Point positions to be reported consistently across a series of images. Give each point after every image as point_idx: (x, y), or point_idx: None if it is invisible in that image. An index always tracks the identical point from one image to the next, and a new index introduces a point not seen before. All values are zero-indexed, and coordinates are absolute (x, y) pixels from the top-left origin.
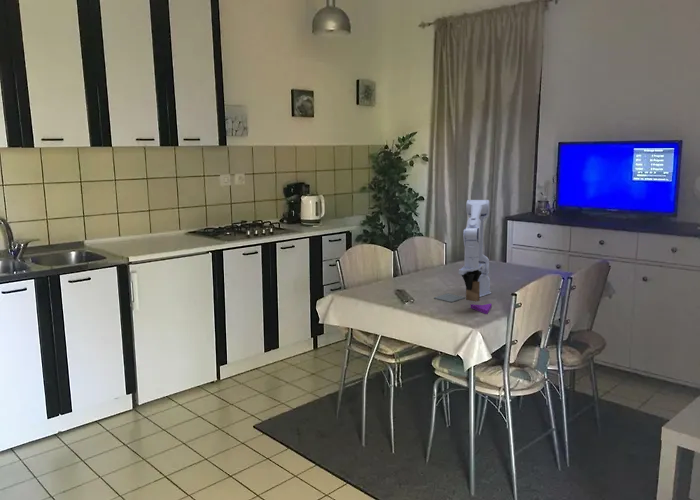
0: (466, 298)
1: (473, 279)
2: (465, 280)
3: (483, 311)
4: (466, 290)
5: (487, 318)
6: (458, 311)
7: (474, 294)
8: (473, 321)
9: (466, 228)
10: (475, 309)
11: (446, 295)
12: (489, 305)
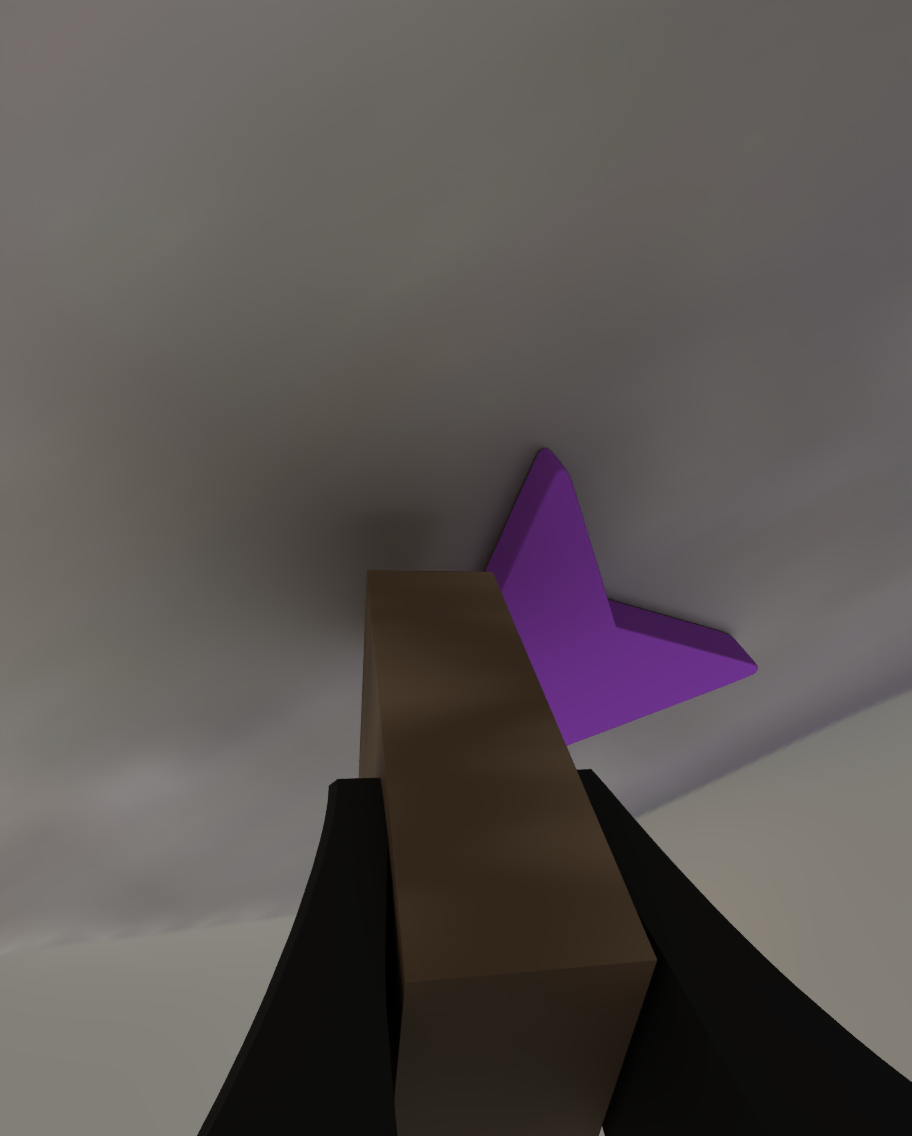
0: (368, 594)
1: (648, 1117)
2: (270, 1094)
3: None
4: (379, 715)
5: (256, 848)
6: (231, 405)
7: None
8: (7, 821)
9: None
10: (487, 568)
11: None
12: (652, 703)
